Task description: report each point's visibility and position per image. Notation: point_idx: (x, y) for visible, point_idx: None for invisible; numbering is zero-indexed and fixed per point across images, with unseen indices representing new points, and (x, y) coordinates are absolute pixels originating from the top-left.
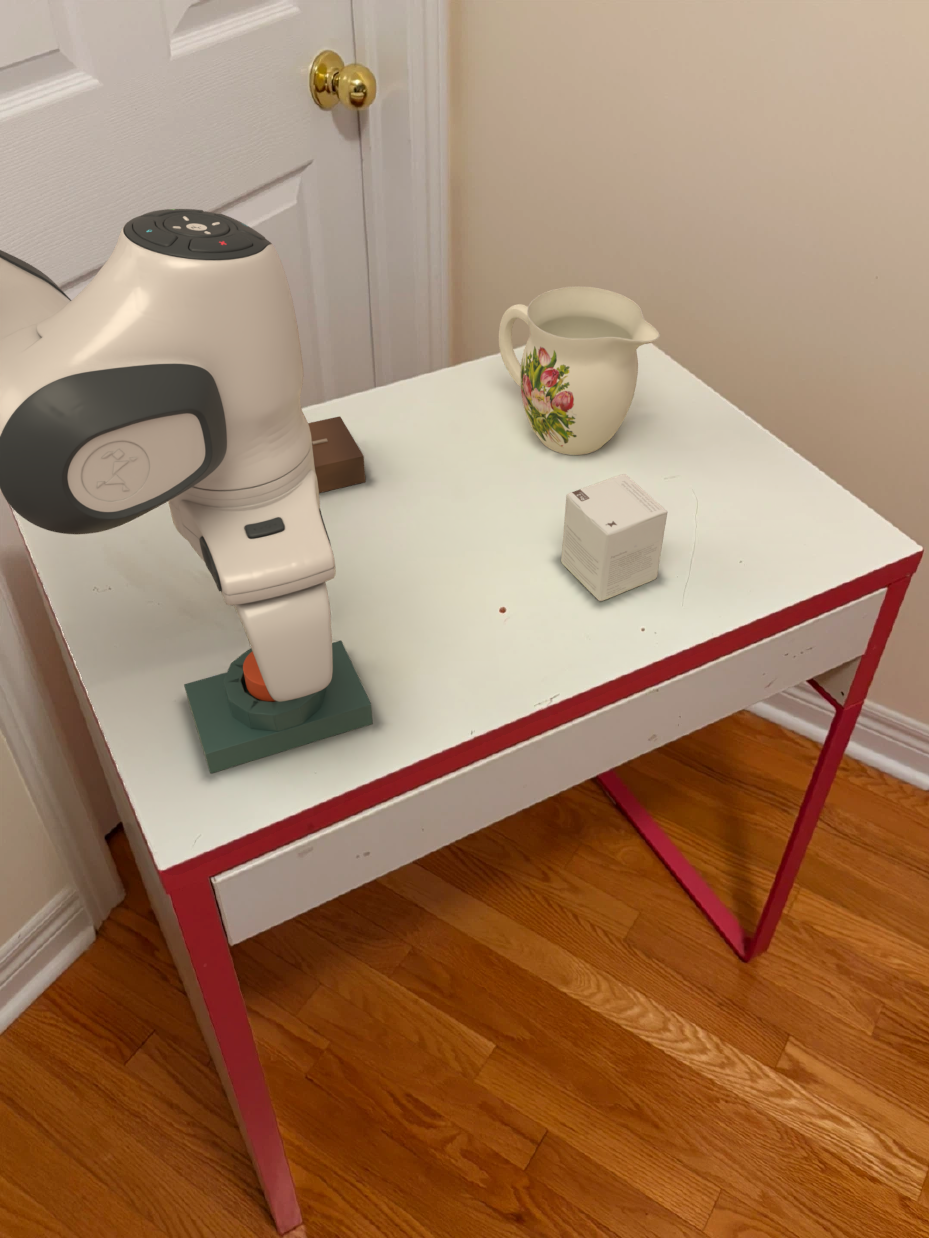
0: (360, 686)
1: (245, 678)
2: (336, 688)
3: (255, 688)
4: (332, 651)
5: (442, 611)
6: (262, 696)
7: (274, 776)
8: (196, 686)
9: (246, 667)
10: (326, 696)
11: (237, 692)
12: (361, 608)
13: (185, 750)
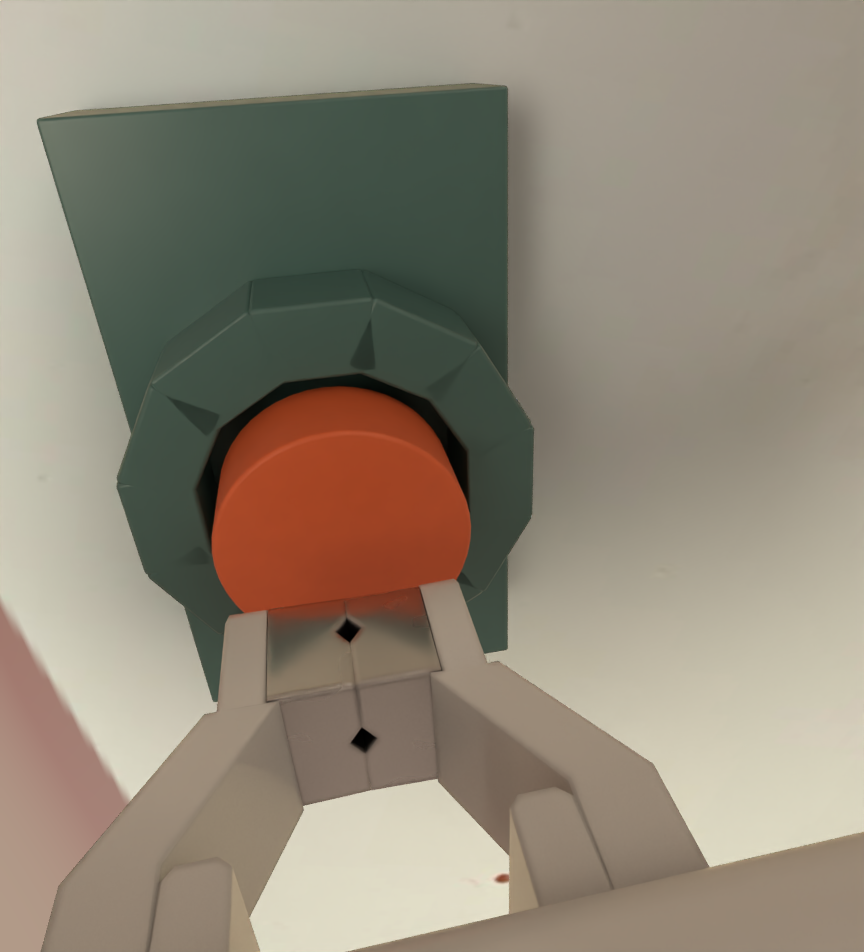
0: None
1: (314, 420)
2: None
3: (245, 452)
4: None
5: None
6: (229, 455)
7: (37, 351)
8: (473, 144)
9: (356, 447)
10: None
11: (286, 353)
12: (647, 646)
13: (225, 19)
